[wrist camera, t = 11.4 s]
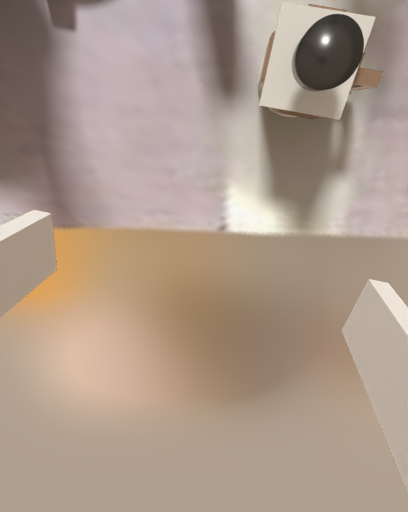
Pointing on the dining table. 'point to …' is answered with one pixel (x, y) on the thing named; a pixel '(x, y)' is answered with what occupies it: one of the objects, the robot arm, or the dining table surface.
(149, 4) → the dining table surface
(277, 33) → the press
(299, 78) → the dark knobbed rod
